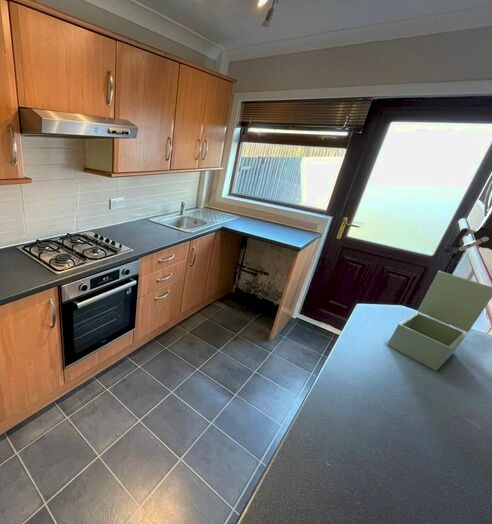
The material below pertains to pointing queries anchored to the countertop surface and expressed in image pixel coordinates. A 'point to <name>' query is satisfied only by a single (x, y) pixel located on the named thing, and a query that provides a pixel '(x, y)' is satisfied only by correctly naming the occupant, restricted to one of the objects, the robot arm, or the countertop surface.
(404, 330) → the green hinged box
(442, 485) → the countertop surface
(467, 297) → the lid
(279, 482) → the countertop surface
